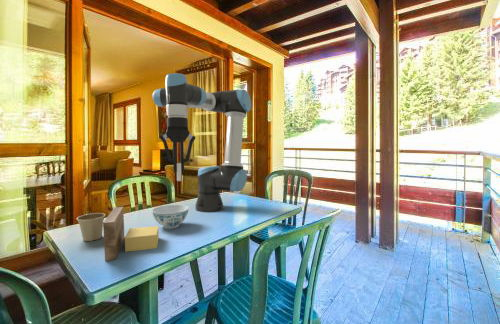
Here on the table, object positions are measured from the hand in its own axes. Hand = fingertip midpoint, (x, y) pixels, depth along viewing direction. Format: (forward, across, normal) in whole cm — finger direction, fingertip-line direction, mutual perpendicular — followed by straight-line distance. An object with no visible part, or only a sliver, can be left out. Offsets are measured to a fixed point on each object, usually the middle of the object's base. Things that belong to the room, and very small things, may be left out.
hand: (179, 180), depth 99 cm
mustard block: (+22, +13, +3) cm, 26 cm away
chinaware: (+22, +3, -15) cm, 27 cm away
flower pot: (+22, +32, -10) cm, 40 cm away
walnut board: (+22, +22, +3) cm, 31 cm away
